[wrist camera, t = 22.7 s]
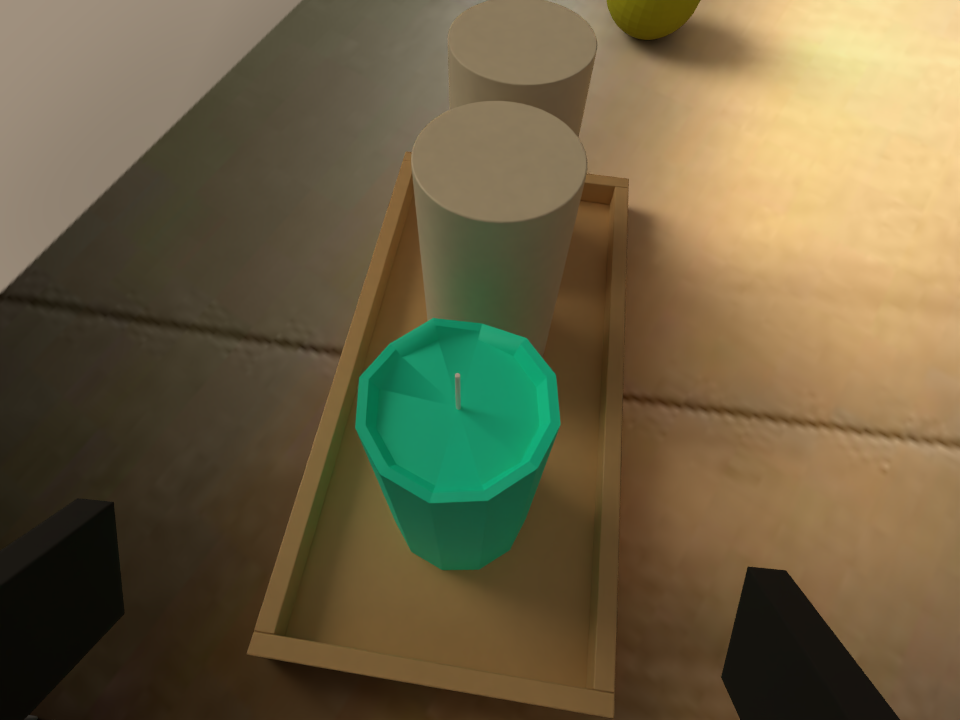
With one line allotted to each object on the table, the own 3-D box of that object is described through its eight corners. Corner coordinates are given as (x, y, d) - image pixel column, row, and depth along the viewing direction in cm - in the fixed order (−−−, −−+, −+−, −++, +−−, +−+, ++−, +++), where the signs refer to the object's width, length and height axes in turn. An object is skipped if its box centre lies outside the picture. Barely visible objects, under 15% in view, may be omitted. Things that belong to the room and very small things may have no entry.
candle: (554, 500, 25) (616, 374, 15) (461, 604, 23) (458, 539, 13) (460, 415, 27) (457, 251, 17) (365, 503, 25) (295, 376, 15)
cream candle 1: (462, 198, 35) (461, -10, 24) (559, 210, 34) (600, 5, 24) (444, 274, 32) (434, 75, 21) (551, 288, 31) (593, 93, 21)
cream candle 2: (441, 288, 31) (429, 91, 21) (549, 303, 31) (592, 110, 20) (419, 383, 28) (393, 209, 18) (539, 401, 28) (582, 233, 18)
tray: (408, 177, 36) (405, 151, 34) (620, 204, 36) (629, 178, 34) (263, 656, 23) (245, 654, 21) (602, 716, 22) (614, 719, 20)
